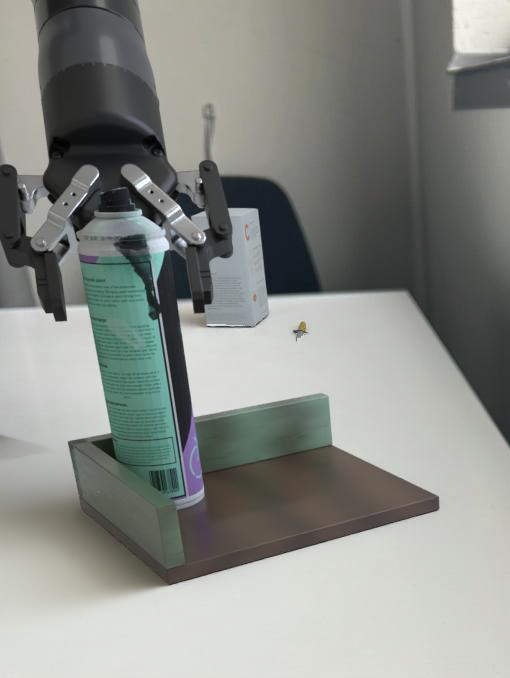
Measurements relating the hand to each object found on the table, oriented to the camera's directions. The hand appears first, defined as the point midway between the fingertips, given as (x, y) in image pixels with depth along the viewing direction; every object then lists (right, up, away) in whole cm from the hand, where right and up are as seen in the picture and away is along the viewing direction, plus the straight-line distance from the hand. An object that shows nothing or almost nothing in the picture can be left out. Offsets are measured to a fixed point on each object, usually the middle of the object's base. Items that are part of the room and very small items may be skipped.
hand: (130, 310), depth 65 cm
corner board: (+7, -12, +8) cm, 15 cm away
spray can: (0, -11, +7) cm, 13 cm away
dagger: (+1, +15, +58) cm, 60 cm away
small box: (-9, +20, +66) cm, 69 cm away
